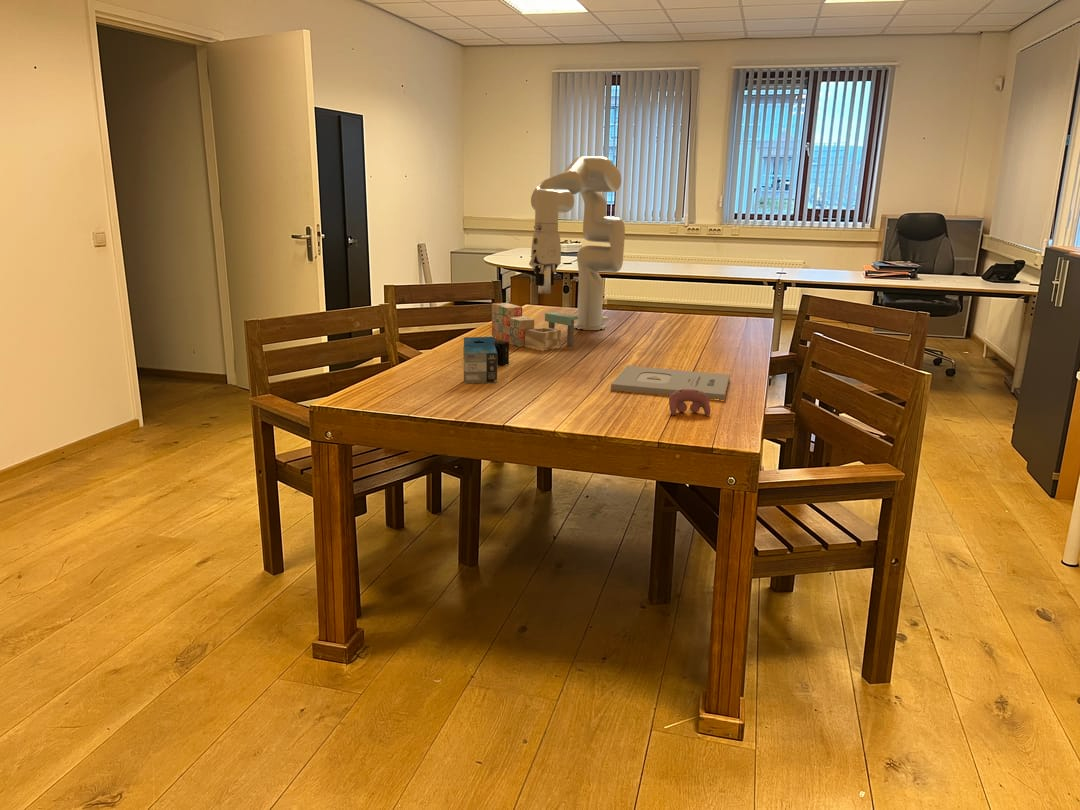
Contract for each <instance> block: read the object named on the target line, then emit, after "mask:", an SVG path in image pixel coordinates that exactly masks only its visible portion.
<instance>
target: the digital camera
mask: <svg viewBox="0 0 1080 810" xmlns="http://www.w3.org/2000/svg"><path fill="white" fill-rule="evenodd" d="M474 343H484V341H480V340H478V341H475V342H474ZM494 345H495V348H496V351H497V365H498V366H497V367H504V365H505V366H507V365H509V363H510V362H509V360H510V358H509V357H510V356H509V355H510V344H509V342H505V341H501V340H495V341H494ZM506 364H507V365H506Z"/></svg>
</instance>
